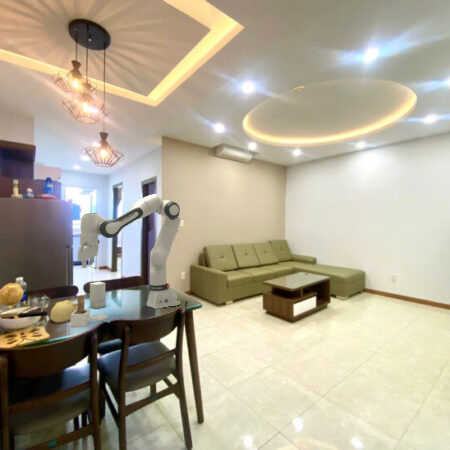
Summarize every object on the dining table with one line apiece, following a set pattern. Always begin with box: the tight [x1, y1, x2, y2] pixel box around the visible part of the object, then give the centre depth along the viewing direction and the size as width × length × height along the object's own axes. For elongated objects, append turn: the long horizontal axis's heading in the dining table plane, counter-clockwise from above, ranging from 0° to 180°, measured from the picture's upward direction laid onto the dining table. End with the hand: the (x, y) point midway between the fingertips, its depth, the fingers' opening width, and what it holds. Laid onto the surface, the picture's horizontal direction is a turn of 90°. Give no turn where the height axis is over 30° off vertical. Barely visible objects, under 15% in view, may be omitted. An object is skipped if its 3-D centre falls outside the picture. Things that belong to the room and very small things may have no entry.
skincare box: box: [89, 281, 107, 310], centre depth 158 cm, size 8×7×16 cm
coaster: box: [90, 314, 108, 322], centre depth 139 cm, size 9×9×1 cm
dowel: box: [76, 294, 86, 314], centre depth 130 cm, size 3×3×15 cm
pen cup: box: [70, 309, 91, 328], centre depth 130 cm, size 7×7×7 cm
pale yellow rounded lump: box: [50, 299, 77, 324], centre depth 135 cm, size 11×12×11 cm
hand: (87, 266), depth 135 cm, fingers open, 8 cm apart
